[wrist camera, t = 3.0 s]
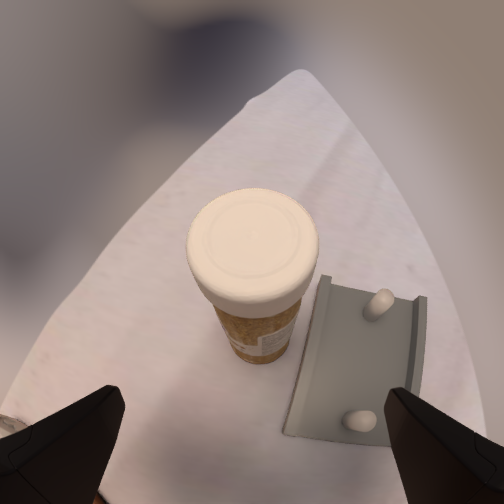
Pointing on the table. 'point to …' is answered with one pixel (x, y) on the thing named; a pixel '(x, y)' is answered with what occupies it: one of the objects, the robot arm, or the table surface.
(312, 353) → the tray
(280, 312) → the sprinkles bottle
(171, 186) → the table surface
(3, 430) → the die
